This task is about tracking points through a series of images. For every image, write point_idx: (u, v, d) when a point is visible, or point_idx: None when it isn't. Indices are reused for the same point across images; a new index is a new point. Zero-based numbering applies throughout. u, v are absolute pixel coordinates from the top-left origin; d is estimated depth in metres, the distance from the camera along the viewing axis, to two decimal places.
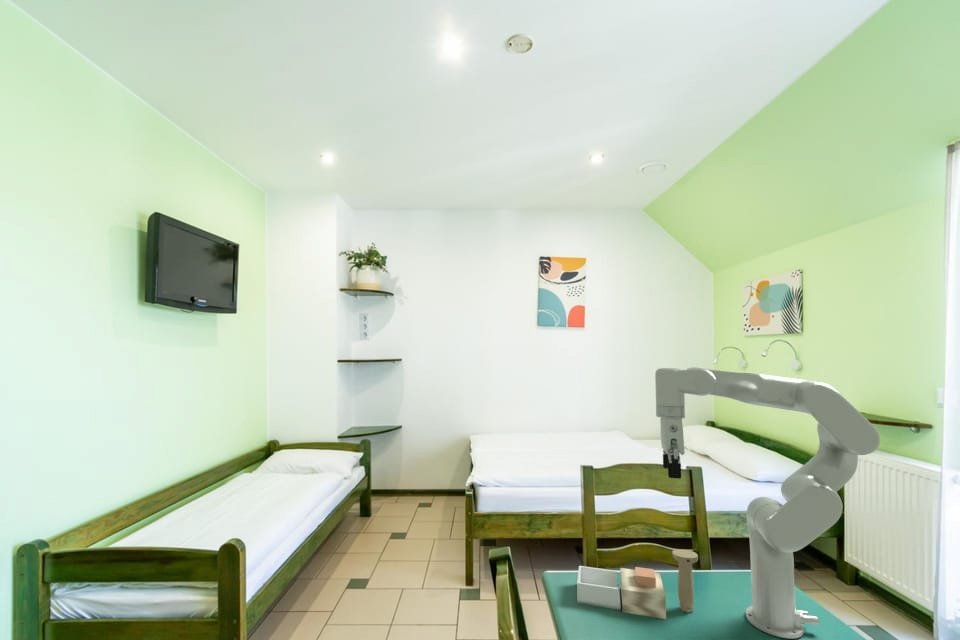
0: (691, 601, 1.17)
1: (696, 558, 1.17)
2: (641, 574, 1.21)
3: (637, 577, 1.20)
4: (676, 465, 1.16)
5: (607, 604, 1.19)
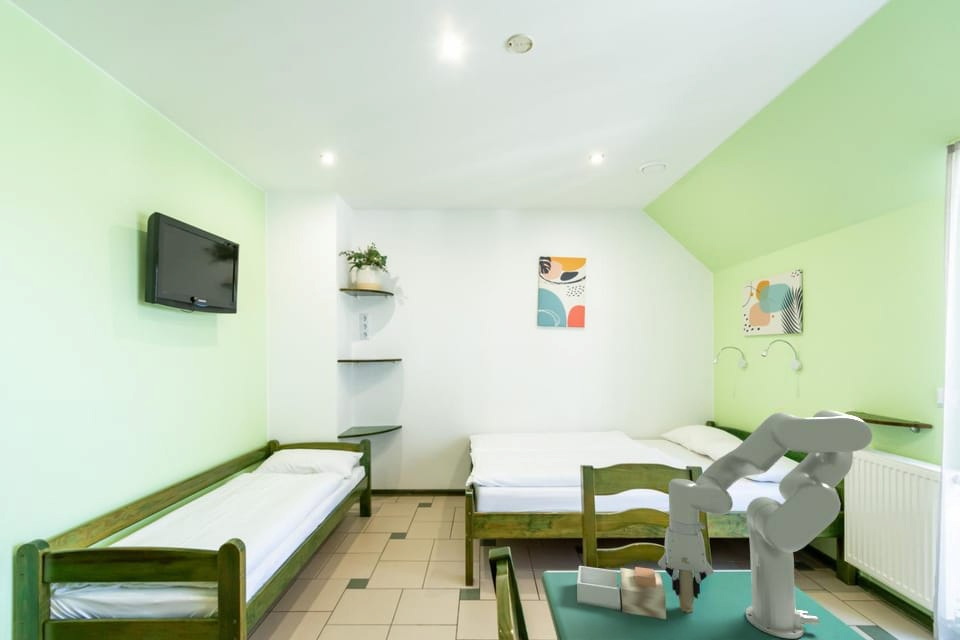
0: (691, 601, 1.17)
1: None
2: (641, 574, 1.21)
3: (637, 577, 1.20)
4: None
5: (607, 604, 1.19)
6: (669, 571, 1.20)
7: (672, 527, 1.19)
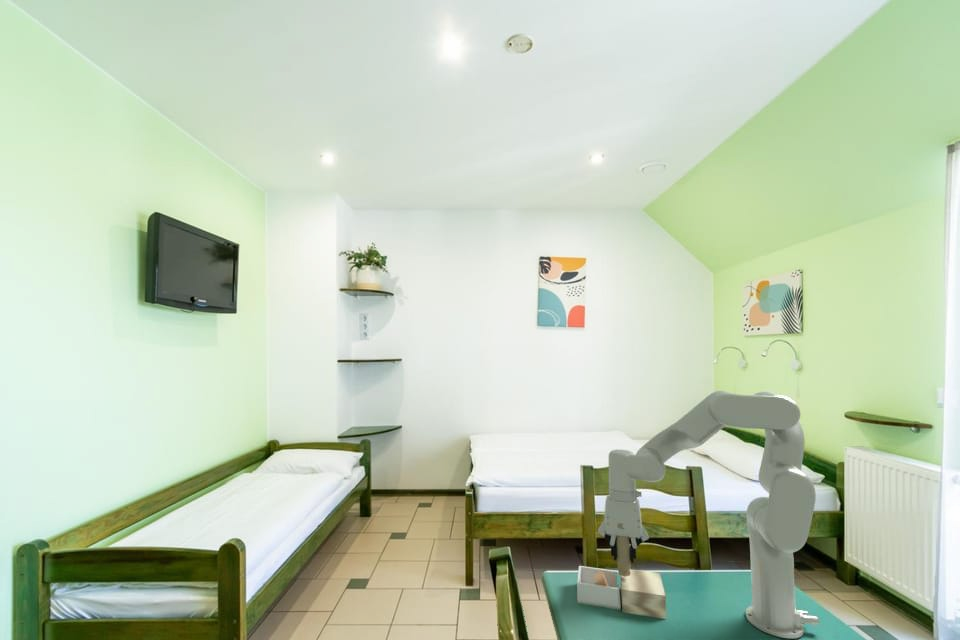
0: (628, 565, 1.22)
1: None
2: None
3: None
4: None
5: (607, 604, 1.19)
6: (607, 537, 1.24)
7: (610, 495, 1.24)
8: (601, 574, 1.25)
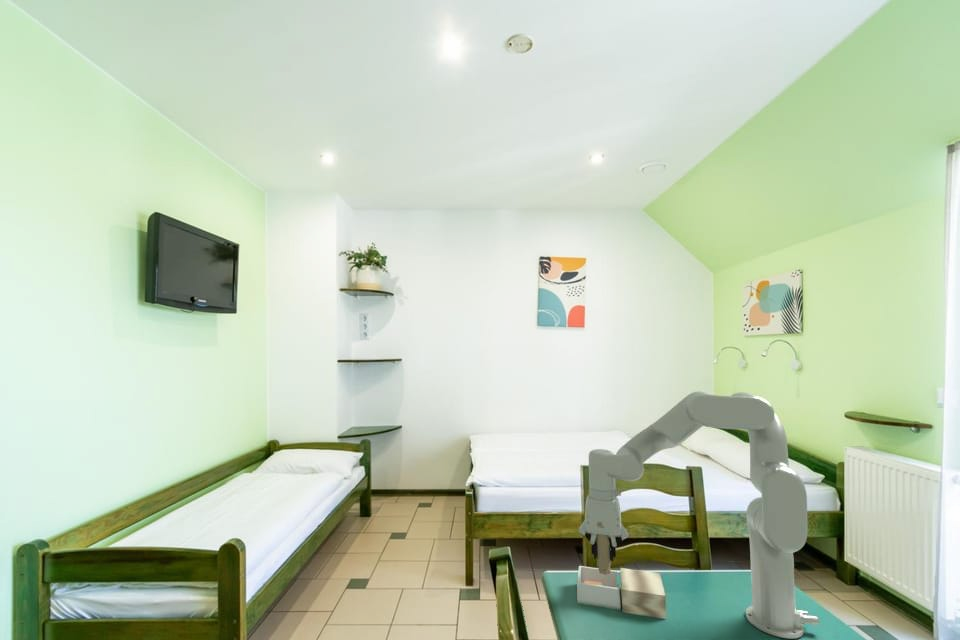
0: (607, 563, 1.23)
1: None
2: None
3: None
4: None
5: (607, 604, 1.19)
6: (588, 536, 1.26)
7: (590, 494, 1.26)
8: None
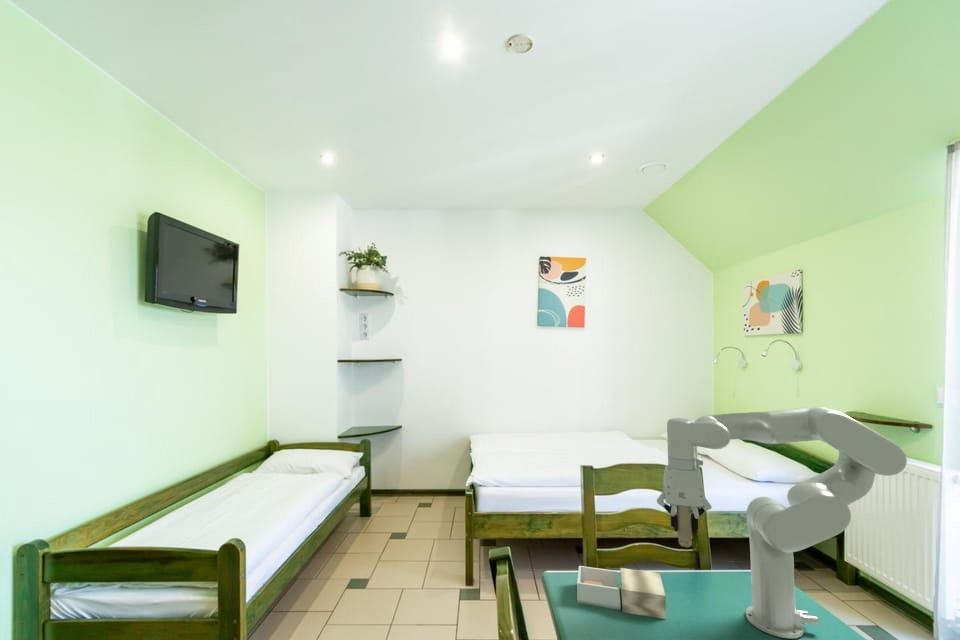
0: (689, 535, 1.18)
1: None
2: None
3: None
4: None
5: (607, 604, 1.19)
6: (667, 508, 1.21)
7: (670, 464, 1.20)
8: None
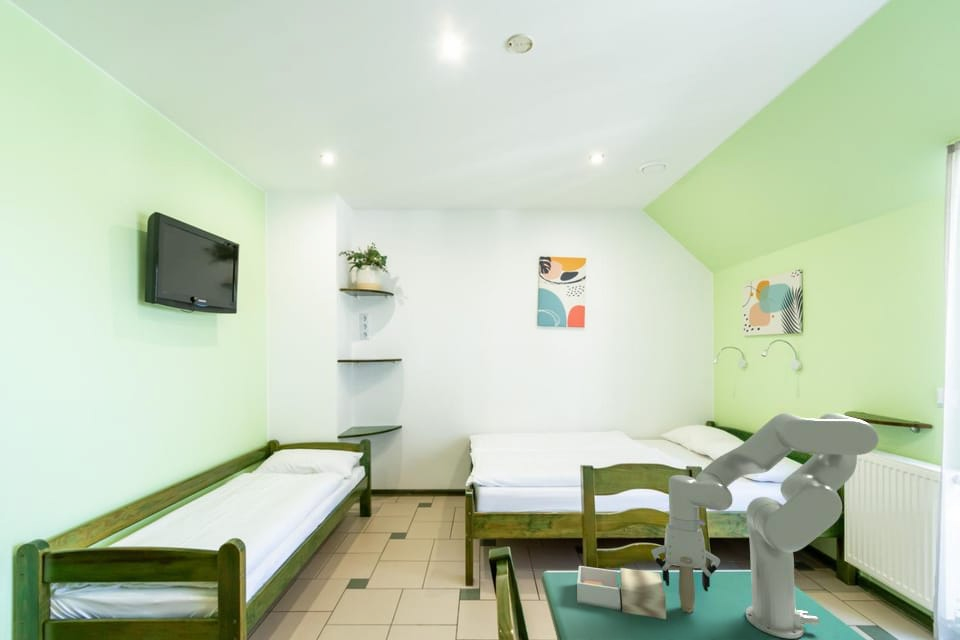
0: (692, 601, 1.17)
1: None
2: None
3: None
4: None
5: (607, 604, 1.19)
6: (662, 561, 1.20)
7: (672, 523, 1.19)
8: None
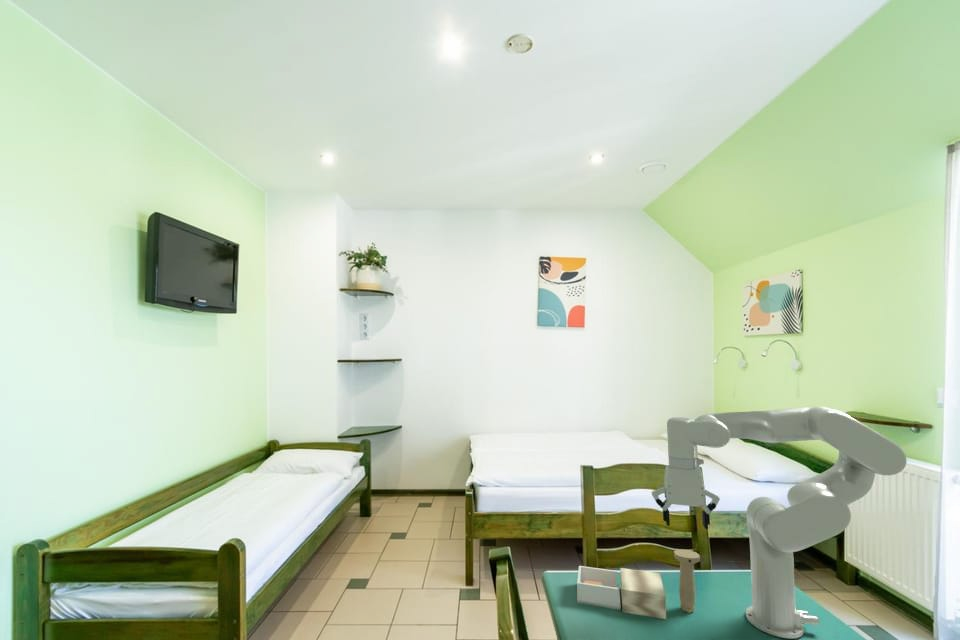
0: (692, 601, 1.17)
1: (698, 558, 1.17)
2: None
3: None
4: None
5: (607, 604, 1.19)
6: None
7: (671, 463, 1.20)
8: None
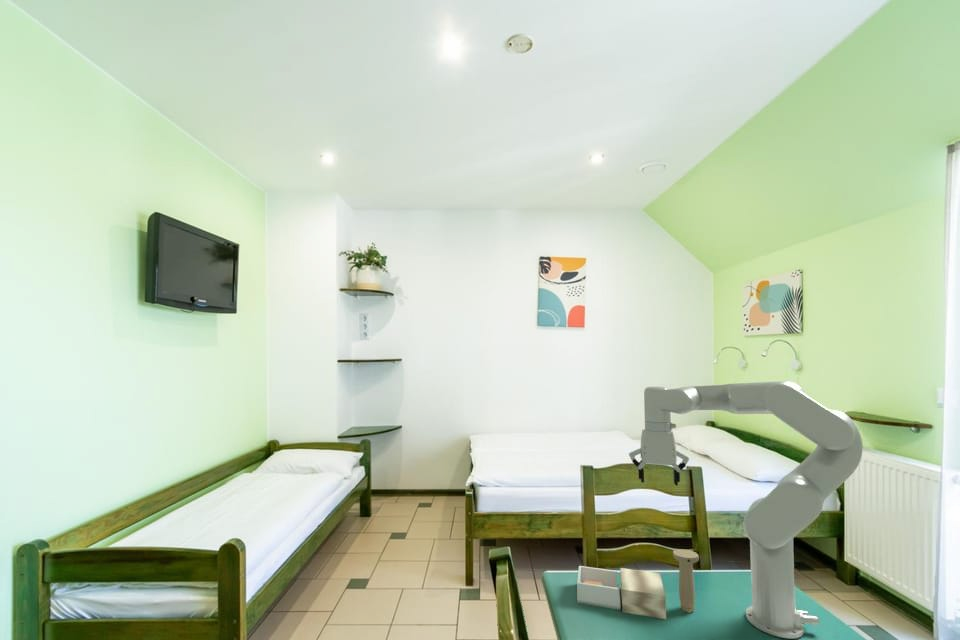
0: (692, 601, 1.17)
1: (697, 558, 1.17)
2: None
3: None
4: None
5: (607, 604, 1.19)
6: None
7: (646, 427, 1.34)
8: None
